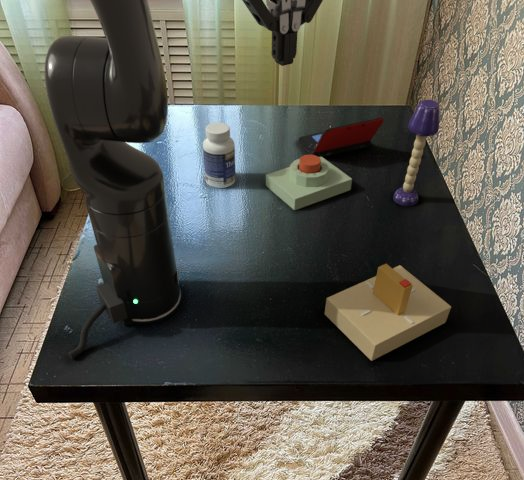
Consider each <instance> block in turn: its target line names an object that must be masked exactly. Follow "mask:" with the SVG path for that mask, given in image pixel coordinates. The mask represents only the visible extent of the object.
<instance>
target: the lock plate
mask: <svg viewBox="0 0 524 480" xmlns="http://www.w3.org/2000/svg"><path fill="white" fill-rule="evenodd" d="M392 269H394V270H395V271H396V272H397V273H398V274H400V275H401V276H402V277H403V278H404V279H407V280H408V281H409V282H411V284H412V285H413V286H412V290H411V293H410V297H409V300H408V304H407V307H406V311H405V312H403V313H401V314H399V315H397V314H396V313H395V312H394V311H392V310H391V309H390V308H389V307H388V306H387V305H386V304H385V303H383V302H382V301H381V300H380V299H379V298H378V297H377V296H376V295H374V294H373V289H374V285H375V280H376V275H375V276H373V277H371V278H369V279H366V280H365V281H362V282H359V283H357V284H355V285H353V286H350V287H348V288H346V289H343V290H342V291H339V292H337V293H335V294H333V295H331V296H328V297H326V299H325V307H324V315H325V317H326V318H327V319H329V320H330V321H331V322H332V324H334V326H336V327H337V328H338V329H339V330H340V331H341V333H343V334H344V335H345V336H346V337H347V338H348V339H349V341H351V343H353V344H354V345H355V346H356V347H357V348H358V349H359V350H360V351H361V352H362V353H363V354H364V356H366V357H367V359H369V360H370V361H371V362H373V361H374V360H376V359H379V358H381V357H383V356H384V355H386V354H388V353H390V352H393V350H395V349H397V348H400V347H401V346H403V345H406V344H407V343H409V342H411V341H413V340H415V339H417V338H419V337H420V336H423V335H425V334H427V333H428V332H430V331H432V330H434V329H436V328H438V327H440V326H442V325H445V324H446V322H447V320H448V317H449V314H450V312H451V309H452V306H451V305H450V304H449V303H447V302H446V300H444V299H443V298H441V297H440V296H439V295H437V294H436V292H434V291H433V290H431V289H430V287H428V286H427V285H425V283H423V282H421V281H420V280H419V279H418V278H417V277H416V276H414V275H413V273H412V274H411V273H410V272H409V271H408V270H406V269H405V268H404V267H403V266H402V265H397V266H395V267H392Z"/></svg>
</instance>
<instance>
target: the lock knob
mask: <svg viewBox="0 0 524 480" xmlns="http://www.w3.org/2000/svg"><path fill="white" fill-rule="evenodd" d="M375 276H376V280H375V285H374V289H373V294H374V295H376V296H377V297H378V298H379V299H380V300H381V301H382V302H383V303H385V304H386V305H387V306H388V307H389V308H390V309H391V310H392V311H394V312H395V313H396V314H397V315H399V314H401V313H403V312H405V311H406V307H407V304H408V300H409V297H410V293H411V290H412V286H413V285H412V284H411V282H409V281H408V280H407V279H404V278H403V277H402V276H401V275H400V274H398V273H397V272H396V271H395V270H394V269H393V267H392V266H390V265H389V264H388V263H384V264H382V265H380V266H378V267H377V272H376V275H375Z"/></svg>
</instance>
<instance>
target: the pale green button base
mask: <svg viewBox="0 0 524 480" xmlns="http://www.w3.org/2000/svg"><path fill="white" fill-rule="evenodd" d="M319 158H320V159H321V165H320V171H319V172H317V173H314V174H307V173H304V172H301V171H300V170H299V161H300V158H297V159H295V160H293V162H291V164H290V165H289V166H288V167H285V168H281V169H278V170H275V171H273V172H272V171H271V172H269V173H266V174H265V186H266V187H267V188H268V189H269V190H270V191H271V192H273V193H274V194H275V196H277V197H278V198H279V199H281V200H282V201H283V202H284V203H285V204H286V205H288V207H290V208H291V209H292V210H293V211H296V210H297V211H298V210H300V209H302V208H305V207H308V206H310V205H313V204H316V203H318V202H322V201H324V200H327V199H329V198H330V199H331V198H333V197H336V196H338V195H341V194H345V193H347V192H349V191H351V190H352V183H353V178H352V177H350V176H349V175H347V174H346V173H345V172H343V170H341V169H340V168H338V167H337V166H335V165H334V164H332V163H331V162H330V161H329V160H327V159H326V158H325V157H319Z"/></svg>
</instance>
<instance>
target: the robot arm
mask: <svg viewBox="0 0 524 480" xmlns="http://www.w3.org/2000/svg"><path fill="white" fill-rule="evenodd" d="M89 1H90V3H91V5H92V7H93V10H94V11H95V14H96V16H97V19H98V21H99V24H100V26H101V28H102V29H101V30H102V32H103V35H104V37H98V36H97V37H96V36H81V35H65V36H64V35H63V36H61V37H58V38H56V39H55V40H54V41H52V43H51V44H50V46H49V48H48V50H47V52H46V56H45V61H44V83H45V84H44V85H45V92H46V97H47V101H48V106H49V109H50V114H51V117H52V120H53V122H54V126H55V128H56V131H57V134H58V137H59V140H60V142H61V146H62V148H63V151H64V155H65V157H66V161H67V163H68V166H69V169H70V173H71V175H72V178H73V180H74V182H75V183H76V185H77V186H78V188H79V189H80V190H81V193H82V195H83V199H84V202H85V205H86V209H87V213H88V217H89V220H90V225H91V228H92V232H93V236H94V238H95V242H96V244H95V245H94V246H93V250H94V254H95V257H96V261H97V265H98V268H99V271H100V275H101V279H102V282H103V283H101V284H99V285H96V286H95V288H96V292H97V295H98V298H99V301H100V305H99V306H98V307H97V308H96V309H95V310H94V311H93V312H92V313H91V314H90V316H89V317H88V318H87V319H86V321H85V322H84V324H83V326H82V327H81V330H80V336H79V337H80V338H79V342H78V345H77V346H76V348H74V349H72V350H70V351H69V352H68V353H67V356H68V357H69V358H70V359H74V358H76V357H78V356H80V354H82V353H83V351H84V350H85V348H86V346H87V344H88V336H89V332H90V329H91V327H92V326H93V324H94V323H95V321H96V320H97V319H98V318H100V316H101V315H102V314H103V313H104V312H105V311H106V314H107V315H108V316H109V318H110V319H111V321H112V323H113V324H117V323H119V322H122V324H123V325H124V327H128V326H130V325H152V324H157V323H159V322H162V321H164V320H166V319H168V318H170V317H171V316H173V315H174V314H175V313H176V312H177V311H178V310H179V308H180V306H181V303H182V292H181V287H180V271H179V270H180V269H178V267H177V262H176V256H175V248H174V242H173V233H172V228H171V221H170V213H169V205H168V199H167V193H166V185H165V178H164V173H163V170H162V167H161V165H160V164H159V163H158V161H157V160H156V159H155V158H154V157H152V156H151V155H149V154H147V152H143V151H141V150H140V149H137V148H136V147H134V146H132V145H130V144H147V143H148V144H149V143H153V142H155V141H156V140H158V139H159V138H160V137H161V136H162V135H163V133H164V132H165V128H166V125H167V122H168V116H169V115H168V114H169V112H168V111H169V96H168V85H167V79H166V72H165V67H164V63H163V59H162V54H161V50H160V45H159V42H158V37H157V32H156V29H155V25H154V20H153V16H152V13H151V10H150V5H149V0H89ZM241 1H242V2H243V4H244V5H245V7H246V8H247V10H248V11H249V13H250V14H251V16H252V17H253V19H254V20H255V22H256V23H257V24H258V25H259V26H261V27H263V28H265V29H267V30H268V31H269V32H271V52H270V53H271V54H270V55H271V57H272V59H273V60H274V62H275V63H276V64H278V65H279V66H281V67H284V66H289V65H292V64H293V63H294V59H295V58H296V56H297V53H298V52H297V49H298V31H299V30H300V28H301V27H302V26H303V25H304V24H305V23H306V24H310V23H311V22H312V20H313V18H314V17H315V15H316V14H317V12H318V10H319V8H320V6H321V5H322V3H323V1H324V0H265V2H264V0H241ZM265 3H266V4H265Z"/></svg>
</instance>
